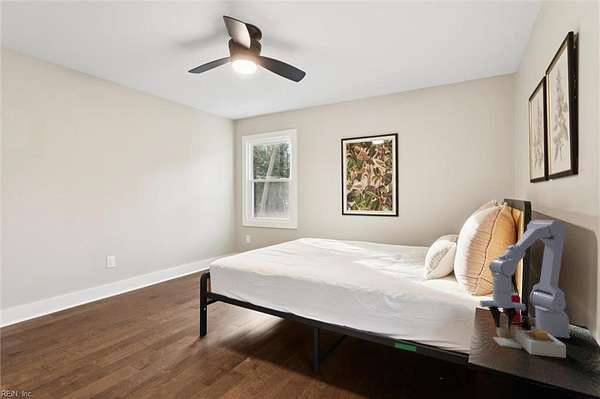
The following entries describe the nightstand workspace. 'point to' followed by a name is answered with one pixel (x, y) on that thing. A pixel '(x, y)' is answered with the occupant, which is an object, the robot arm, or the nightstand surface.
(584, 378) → the nightstand surface
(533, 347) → the guard housing
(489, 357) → the nightstand surface
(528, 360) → the nightstand surface
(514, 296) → the beverage can
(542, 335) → the button
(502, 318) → the wooden building block
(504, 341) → the pad
